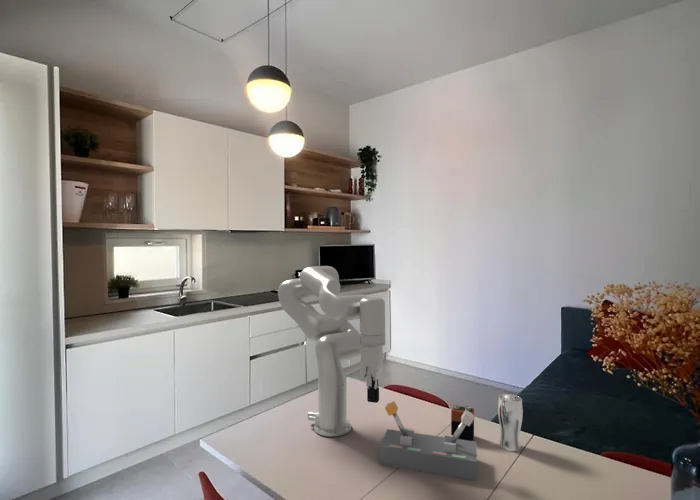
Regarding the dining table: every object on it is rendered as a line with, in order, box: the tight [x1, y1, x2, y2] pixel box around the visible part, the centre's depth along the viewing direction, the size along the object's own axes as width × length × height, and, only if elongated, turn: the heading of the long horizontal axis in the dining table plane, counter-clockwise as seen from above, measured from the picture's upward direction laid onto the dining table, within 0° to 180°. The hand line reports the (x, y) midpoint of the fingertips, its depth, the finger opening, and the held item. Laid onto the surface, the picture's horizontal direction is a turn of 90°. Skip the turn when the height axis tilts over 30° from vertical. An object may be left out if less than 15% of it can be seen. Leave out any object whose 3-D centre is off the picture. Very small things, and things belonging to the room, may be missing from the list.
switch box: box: [378, 428, 478, 482], centre depth 111 cm, size 26×11×7 cm, turn 73°
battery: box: [450, 404, 475, 441], centre depth 125 cm, size 4×7×10 cm, turn 69°
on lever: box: [449, 410, 475, 443], centre depth 108 cm, size 2×3×11 cm
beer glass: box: [497, 393, 524, 453], centre depth 119 cm, size 7×7×15 cm
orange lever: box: [384, 400, 409, 437], centre depth 113 cm, size 2×3×11 cm
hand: (373, 401), depth 115 cm, fingers closed
